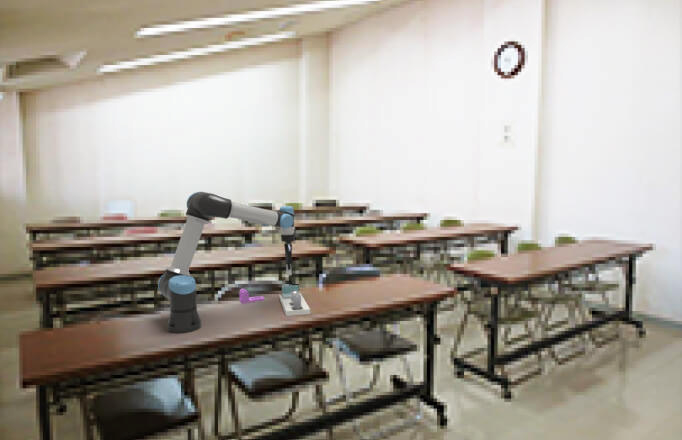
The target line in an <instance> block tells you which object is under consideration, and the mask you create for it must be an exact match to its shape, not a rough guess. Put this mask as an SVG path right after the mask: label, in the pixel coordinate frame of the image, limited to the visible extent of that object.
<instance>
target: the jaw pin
mask: <svg viewBox="0 0 682 440" xmlns="http://www.w3.org/2000/svg"><path fill="white" fill-rule="evenodd" d="M299 293H300V292H299V291H291V306H293V295H299Z"/></svg>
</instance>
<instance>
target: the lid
mask: <svg viewBox="0 0 682 440" xmlns="http://www.w3.org/2000/svg"><path fill="white" fill-rule="evenodd" d="M299 287H300V286H299V284H298V285H297V284H296V285H282V286H281V296H282V298H283V299H285V298H291V291H299V289H300V288H299ZM299 295H300V294H299Z"/></svg>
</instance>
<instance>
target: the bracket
mask: <svg viewBox="0 0 682 440" xmlns="http://www.w3.org/2000/svg"><path fill="white" fill-rule="evenodd" d="M256 301H259V302H263V301H265V296H261V295H260V296H250V293H249V291H247V290H246V289H245V288H241V289H240V290H239V302H240V303H241V304H243V305H244V303H245V304H250V302H252V303H257V302H256Z"/></svg>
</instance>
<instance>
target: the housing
mask: <svg viewBox="0 0 682 440" xmlns="http://www.w3.org/2000/svg"><path fill="white" fill-rule="evenodd" d="M299 294H300V295H293V306H291V298H283V296H282V294H278V295H279V296H278V297H279V298H278V299H279V301H280V304H281V306H282V309H283V311H284V314H285V316H286V317H291V316H292V317H293V316H304V315H310V314H311V308H310V306H309V305H308V303H307V302H306V301H307V300H305V298H304V296H303V294H302V293H301V292H299Z"/></svg>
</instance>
